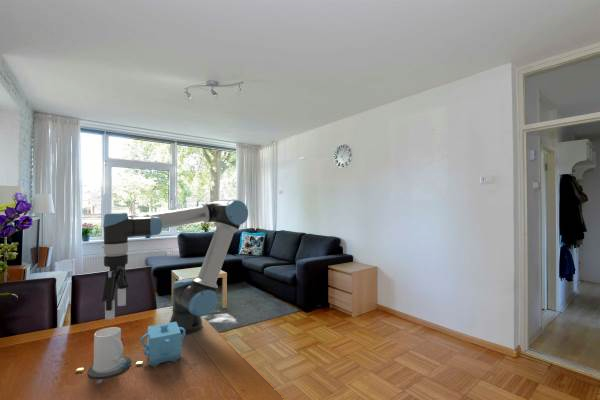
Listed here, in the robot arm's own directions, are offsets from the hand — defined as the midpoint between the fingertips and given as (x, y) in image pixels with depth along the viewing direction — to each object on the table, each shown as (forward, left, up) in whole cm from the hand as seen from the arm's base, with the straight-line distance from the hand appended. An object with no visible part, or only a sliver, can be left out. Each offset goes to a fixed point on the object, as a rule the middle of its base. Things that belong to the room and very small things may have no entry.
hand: (116, 311), depth 109 cm
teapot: (-17, +2, -20) cm, 26 cm away
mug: (+1, +3, -18) cm, 19 cm away
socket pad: (+1, +4, -19) cm, 20 cm away
